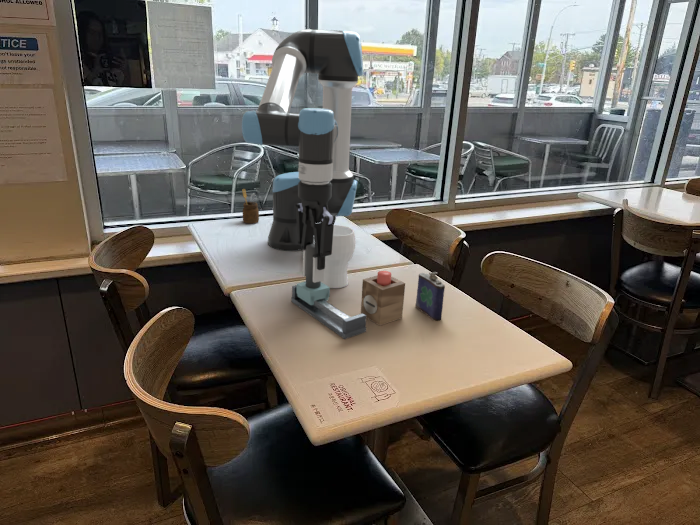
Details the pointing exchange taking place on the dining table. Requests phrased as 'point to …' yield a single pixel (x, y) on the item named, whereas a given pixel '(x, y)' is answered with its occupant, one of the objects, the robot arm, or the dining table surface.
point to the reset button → (384, 278)
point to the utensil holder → (250, 211)
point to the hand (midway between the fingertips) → (313, 277)
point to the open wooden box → (382, 300)
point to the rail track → (325, 318)
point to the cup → (339, 257)
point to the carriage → (309, 288)
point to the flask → (430, 295)
